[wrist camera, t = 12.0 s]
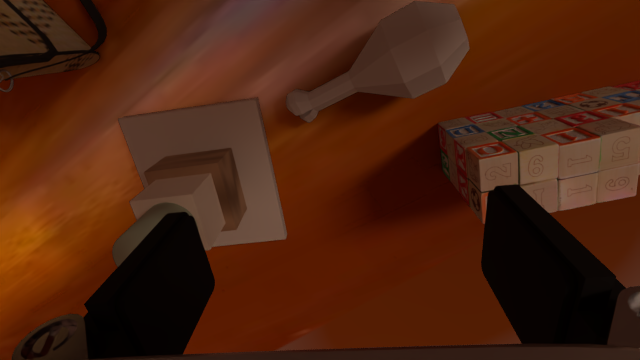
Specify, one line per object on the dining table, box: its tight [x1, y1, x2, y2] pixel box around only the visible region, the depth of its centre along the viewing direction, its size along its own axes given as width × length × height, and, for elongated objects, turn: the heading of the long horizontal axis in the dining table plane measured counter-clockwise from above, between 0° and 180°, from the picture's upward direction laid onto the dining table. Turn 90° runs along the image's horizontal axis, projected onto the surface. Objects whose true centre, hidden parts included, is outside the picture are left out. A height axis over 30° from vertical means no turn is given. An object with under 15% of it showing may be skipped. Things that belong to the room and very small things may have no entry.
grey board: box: [118, 98, 287, 247], centre depth 41 cm, size 18×16×1 cm
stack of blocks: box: [437, 81, 640, 224], centre depth 32 cm, size 21×6×12 cm, turn 104°
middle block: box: [129, 173, 225, 250], centre depth 34 cm, size 6×6×5 cm
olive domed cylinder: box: [112, 202, 198, 267], centre depth 29 cm, size 5×5×5 cm
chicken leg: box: [286, 1, 469, 123], centre depth 33 cm, size 8×18×8 cm, turn 119°
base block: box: [144, 148, 247, 232], centre depth 38 cm, size 8×8×5 cm
